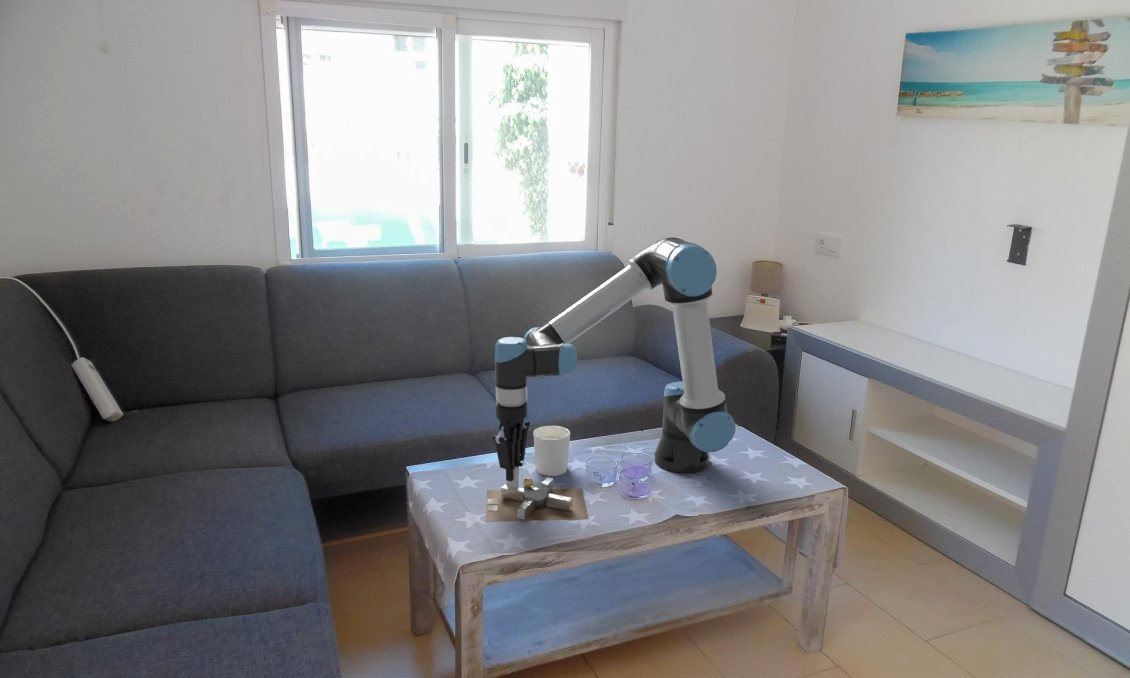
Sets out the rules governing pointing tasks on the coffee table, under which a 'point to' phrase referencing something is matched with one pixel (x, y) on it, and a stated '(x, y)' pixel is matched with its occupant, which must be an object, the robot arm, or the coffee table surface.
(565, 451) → the candle holder
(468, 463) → the coffee table surface
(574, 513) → the level base
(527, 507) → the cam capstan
